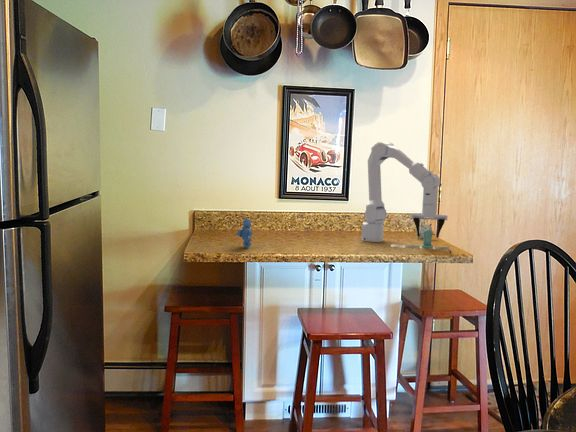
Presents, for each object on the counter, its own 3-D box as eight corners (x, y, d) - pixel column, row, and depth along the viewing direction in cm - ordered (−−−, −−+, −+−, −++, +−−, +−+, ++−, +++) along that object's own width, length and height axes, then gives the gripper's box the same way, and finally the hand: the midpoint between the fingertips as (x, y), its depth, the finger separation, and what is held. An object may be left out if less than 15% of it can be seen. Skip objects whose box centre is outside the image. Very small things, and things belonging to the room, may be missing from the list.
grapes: (236, 244, 224) (236, 216, 223) (252, 244, 225) (252, 216, 223) (236, 250, 213) (236, 220, 211) (253, 250, 213) (253, 220, 212)
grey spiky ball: (423, 249, 242) (416, 233, 236) (414, 239, 249) (408, 224, 243) (440, 239, 241) (434, 223, 236) (431, 230, 249) (425, 214, 243)
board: (390, 250, 218) (390, 247, 218) (390, 245, 228) (390, 243, 228) (451, 253, 214) (451, 250, 214) (448, 248, 224) (448, 246, 224)
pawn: (421, 248, 219) (422, 229, 218) (421, 246, 223) (422, 228, 222) (433, 248, 218) (434, 230, 217) (432, 246, 222) (433, 228, 221)
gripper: (411, 204, 215) (410, 237, 217) (449, 205, 213) (447, 239, 215) (411, 202, 222) (409, 234, 224) (447, 204, 220) (445, 236, 221)
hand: (427, 236), depth 220 cm, fingers open, 7 cm apart
